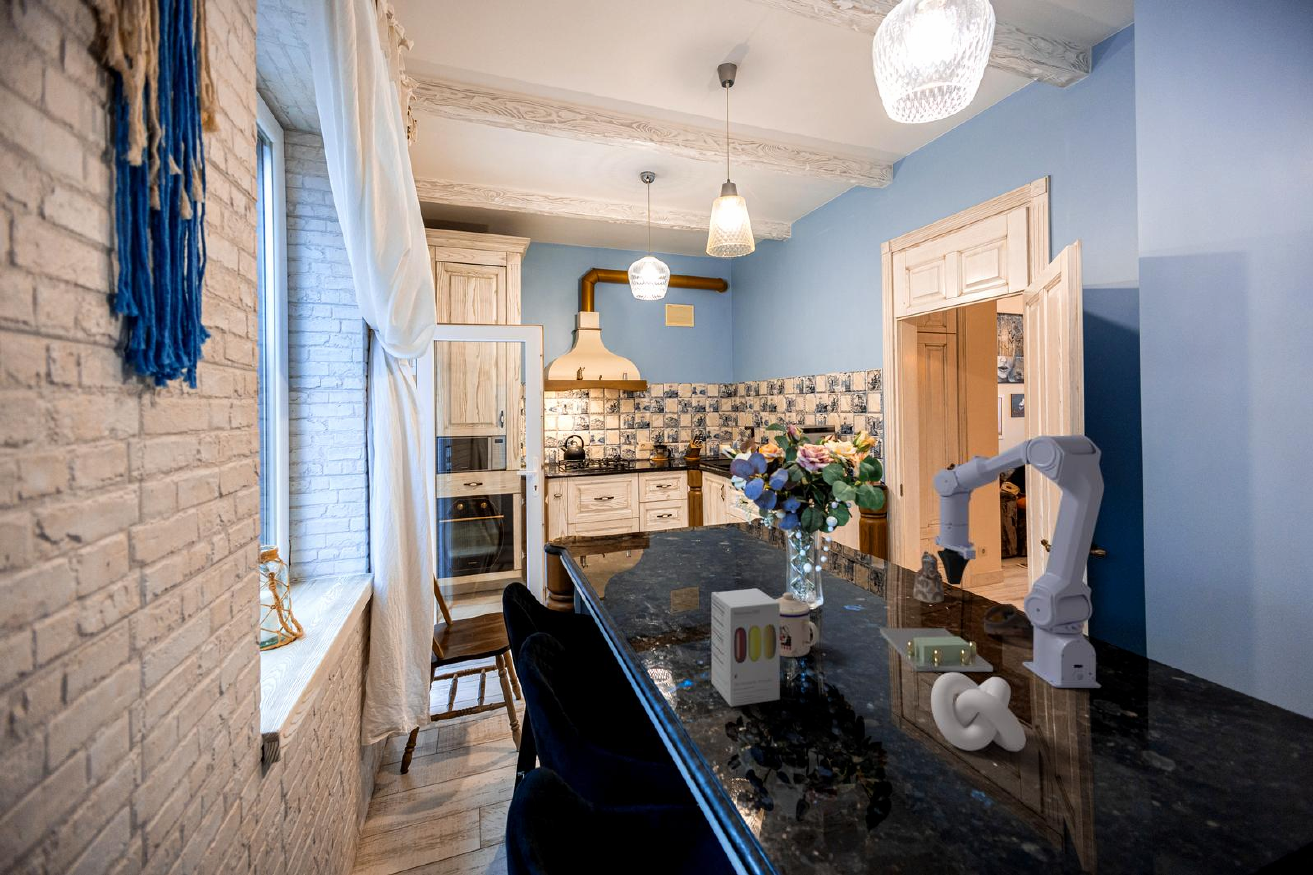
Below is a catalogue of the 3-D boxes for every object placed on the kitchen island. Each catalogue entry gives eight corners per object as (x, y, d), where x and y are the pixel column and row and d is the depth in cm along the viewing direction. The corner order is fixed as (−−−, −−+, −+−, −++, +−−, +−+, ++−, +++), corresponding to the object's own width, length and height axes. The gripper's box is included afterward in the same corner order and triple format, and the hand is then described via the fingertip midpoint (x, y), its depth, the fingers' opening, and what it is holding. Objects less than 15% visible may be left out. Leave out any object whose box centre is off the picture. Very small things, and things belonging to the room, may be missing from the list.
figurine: (915, 601, 144) (915, 555, 144) (911, 593, 151) (911, 549, 150) (946, 603, 142) (946, 557, 141) (940, 595, 149) (940, 550, 148)
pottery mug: (1046, 653, 113) (1025, 619, 112) (997, 663, 118) (977, 630, 117) (1038, 620, 123) (1019, 588, 123) (993, 630, 128) (975, 600, 128)
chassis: (992, 671, 104) (992, 653, 104) (916, 671, 104) (916, 653, 104) (944, 632, 123) (944, 617, 123) (880, 632, 123) (880, 617, 123)
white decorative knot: (943, 710, 90) (943, 656, 90) (1032, 735, 83) (1032, 676, 83) (925, 742, 82) (925, 682, 81) (1022, 773, 74) (1022, 707, 74)
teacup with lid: (757, 647, 116) (756, 592, 116) (786, 637, 122) (786, 584, 121) (802, 667, 107) (801, 607, 106) (832, 655, 112) (831, 598, 112)
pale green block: (970, 660, 107) (970, 644, 106) (924, 661, 106) (924, 645, 106) (958, 651, 111) (958, 636, 110) (913, 652, 110) (913, 637, 110)
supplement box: (730, 708, 92) (728, 607, 92) (710, 683, 101) (708, 591, 100) (782, 699, 95) (781, 602, 94) (758, 676, 103) (757, 586, 103)
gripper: (990, 529, 116) (990, 593, 117) (956, 517, 131) (956, 574, 131) (956, 529, 117) (956, 593, 117) (925, 517, 131) (925, 574, 132)
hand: (953, 583), depth 124 cm, fingers closed
